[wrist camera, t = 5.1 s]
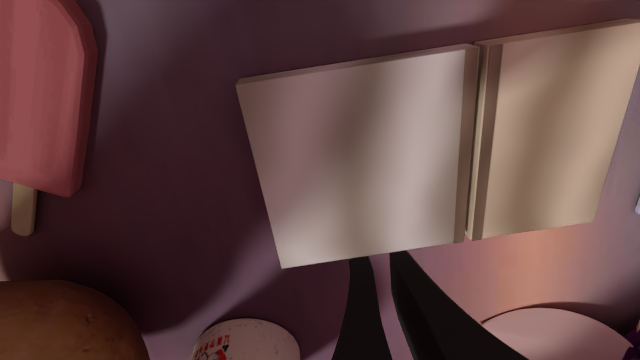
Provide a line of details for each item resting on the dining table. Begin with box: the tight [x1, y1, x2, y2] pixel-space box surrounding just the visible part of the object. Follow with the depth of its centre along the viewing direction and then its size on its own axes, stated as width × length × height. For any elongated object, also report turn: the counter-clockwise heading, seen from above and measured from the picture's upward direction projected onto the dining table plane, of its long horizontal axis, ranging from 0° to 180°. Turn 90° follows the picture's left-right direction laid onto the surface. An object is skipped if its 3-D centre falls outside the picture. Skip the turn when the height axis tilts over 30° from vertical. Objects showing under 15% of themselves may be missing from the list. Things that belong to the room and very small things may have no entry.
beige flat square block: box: [235, 43, 480, 269], centre depth 20 cm, size 12×12×2 cm
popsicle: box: [0, 0, 98, 236], centre depth 18 cm, size 5×2×15 cm
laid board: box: [465, 18, 640, 241], centre depth 20 cm, size 8×12×2 cm, turn 8°
